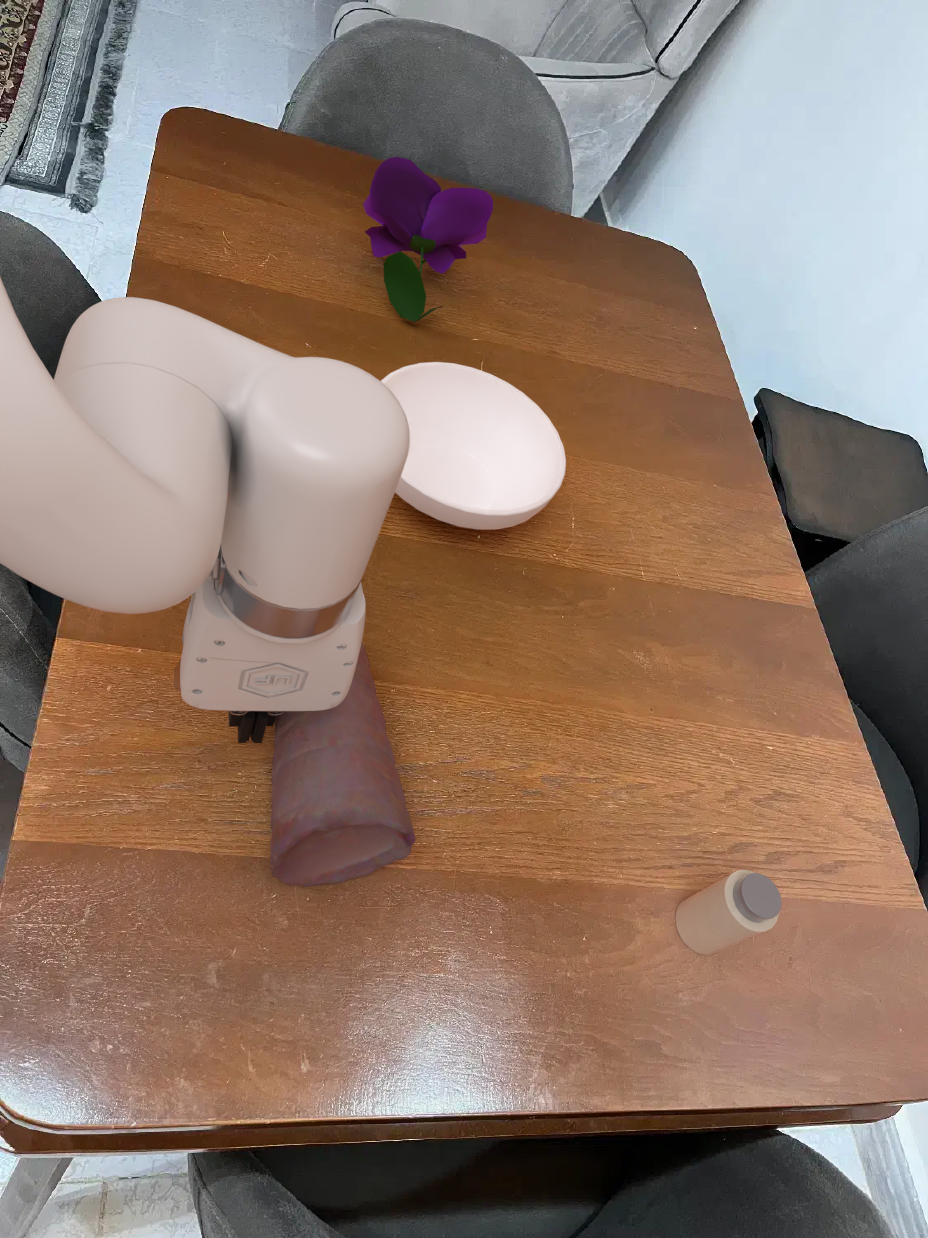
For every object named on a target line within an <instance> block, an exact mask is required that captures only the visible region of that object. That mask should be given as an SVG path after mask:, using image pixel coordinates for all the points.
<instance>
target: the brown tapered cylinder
mask: <svg viewBox="0 0 928 1238" xmlns="http://www.w3.org/2000/svg"><path fill="white" fill-rule="evenodd" d="M370 668H371V667H370V661H369V657H368V654H367V651H366V648H365V644H364V641H362V642H361V648H360V652H359V656H358V661H357V665H356V668H355V672H354V676H353V680H352V683H351V686H350V689H349V691H348V693H347V695H346V697H345V699H344V700H343V701H342V702H341V703H340V704H339V705H338V706H336V707H334V708H331V709H326V710H319V711H285V713H284V714H282V715H277V716H276V719H275V722H274V725H273V730H274V732H273V733H274V736H273V749H274V750H273V755H272V772H271V786H272V788H271V800H270V801H271V806H270V807H271V810H270V831H271V837H270V863H269V867H270V872H271V875H272V877H273V878H275V879H277V880H279V881H281V882H282V883H284V884H286V885H287V886H289V887H291V886H293V887H294V886H298V887H304V888H305V887H313V886H319V885H325V884H341V883H344V882H345V881H347V880H348V881H349V880H351V879H357V878H361V877H367V876H369V875H370V874H371V873H373V872H374V871H376V870H378V869H381V868H384V867H387V866H389V865H391V864H393V863H395V862H396V861H401V860H404V859H407V858H408V856H409V855H410V854H411V851H412V847H413V845H414V844H415V843H416V840H417V838H416V835H415V831H414V827H413V824H412V819H411V817H410V814H409V810H408V807H407V806H406V805H407V801H406V795H405V792H404V789H403V785H402V782H401V779H400V774H399V772H398V769H397V768H396V756H395V753H394V750H393V746H392V744H391V741H390V738H389V735H388V732H387V723H386V717H385V715H384V710H383V708H382V705H381V702H380V699H379V698H378V694H377V686H376V682H375V680H374V677H373V675H372V673H371V671H370Z"/></svg>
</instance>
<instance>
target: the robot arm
mask: <svg viewBox="0 0 928 1238" xmlns="http://www.w3.org/2000/svg"><path fill="white" fill-rule="evenodd" d="M59 356H60V357H59V360H58V363H57V367H56V371H55V374H54V377H52V375H51V374H50V372H49V371H48V369H47V368H46V366H45V364H44V362H43V361H42V360H41V358H40V357H39V355H38V353H37V351H36V350H35V349H34V347H33V345H32V343H31V341H30V339H29V337H28V335H27V333H26V331H25V329H24V327H23V325H22V323H21V322H20V320H19V318H18V316H17V314H16V312H15V309H14V307H13V304H12V301H11V299H10V297H9V295H8V293H7V289H6V287H5V285H4V283H3V280H2V277H1V276H0V565H2V566H3V567H5V568H7V569H9V570H10V571H12V572H13V573H15V574H16V575H18V576H19V577H21V578H23V579H25V580H27V581H28V582H30V583H32V584H33V585H35V586H37V587H39V588H41V589H42V590H45V591H47V592H49V593H51V594H53V595H55V596H57V597H60V599H61V598H62V599H64V600H66V601H68V602H72V603H74V604H78V605H80V606H83V607H86V608H89V609H93V610H97V611H102V612H106V613H115V614H123V615H139V614H149V613H150V614H151V613H155V612H159V611H164V610H166V609H169V608H171V607H174V606H175V605H178V604H180V603H182V602H183V601H185V600H187V599H188V598H189V597H191V598H190V601H189V604H188V608H187V613H186V616H185V619H184V625H183V629H182V635H181V643H182V651H181V657H180V659H179V660H178V662H177V663H176V665H175V667H174V668H173V669H174V670H173V688H175V689H177V690H180V694H181V699H182V701H183V702H184V703H186V704H187V705H188V706H189V707H193V708H196V709H201V710H207V711H227V712H228V727H230V728H231V727H233V728H234V727H235V728H236V727H237V743H238V744H246V743H247V742H253V744H262V743H263V739H264V736H265V732H266V729H267V728H268V727H271V728H272V727H273V728H274V722H275V719H276V716H277V715H282V714H284V713H285V711H319V710H326V709H331V708H334V707H336V706H338V705H339V704H340V703H341V702H342V701H343V700H344V699H345V697H346V695H347V693H348V691H349V689H350V686H351V683H352V680H353V676H354V672H355V668H356V665H357V661H358V656H359V652H360V648H361V642H363V637H364V631H365V625H366V624H365V623H366V612H367V611H366V609H367V608H366V606H367V605H366V598H365V594H364V591H363V590H364V589H363V584H362V579H363V576H364V575H365V572H366V569H367V567H368V564H369V561H370V558H371V555H372V553H373V550H374V549H375V548H374V547H375V546H376V543H377V540H378V537H379V534H380V532H381V530H382V527H383V524H384V522H385V519H386V517H387V514H388V512H389V509H390V506H391V503H392V500H393V498H394V495H395V494H396V493H395V490H396V488H397V485H398V483H399V480H400V477H401V475H402V472H403V470H404V466H405V463H406V460H407V456H408V453H409V447H410V431H409V425H408V421H407V418H406V415H405V413H404V411H403V409H402V407H401V405H400V403H399V401H398V399H397V398H396V397H395V395H394V394H393V393H392V392H391V390H390V389H389V388H387V387H386V386H385V385H384V384H383V383H382V382H381V380H380V379H378V378H377V377H375V375H373V374H371V373H369V372H367V371H366V370H364V369H362V368H361V367H358V366H356V365H354V364H351V363H348V362H345V361H343V360H339V359H333V358H328V357H323V356H321V357H320V356H302V357H301V356H300V357H297V356H291V355H289V354H286V353H285V352H282V351H279V350H277V349H274V348H272V347H269V346H266V345H264V344H262V343H260V342H257V341H255V340H253V339H250V338H249V337H247V336H244V335H242V334H240V333H237V332H235V331H233V330H231V329H229V328H227V327H224V326H222V325H220V324H218V323H215V322H213V321H211V320H210V319H207V318H204V317H202V316H200V315H197V314H195V313H193V312H191V311H187V310H185V309H183V308H180V307H178V306H175V305H172V304H168V303H165V302H161V301H158V300H154V299H149V298H141V297H134V296H123V297H122V296H119V297H114V298H108V299H104V300H101V301H99V302H96V303H95V304H92V306H90V307H88V308H87V309H86V310H84V311H83V312H82V313H81V314H80V315H79V316H78V317H77V318H76V320H75V321H74V323H72V326H71V327H70V329H69V332H68V334H67V336H66V338H65V341H64V344H63V347H62V349H61V353H60V355H59Z"/></svg>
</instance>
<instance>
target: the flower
mask: <svg viewBox="0 0 928 1238" xmlns="http://www.w3.org/2000/svg"><path fill="white" fill-rule="evenodd" d="M362 206H363V209H364V213H365V214H366V215H367V216H369V217H370V218H371V219H373V220H374V221H376V222H377V223H378V224H380V225H378V226H371V227H369V228H368V229H366V230H364V233H365V234H366V235H367V236H368V237H369V240H370V245H371V250H372V255H373V258H374V257H376V258H384V257H386V258H385V261H384V262H383V282H384V285H385V289H386V292H387V296H388V299H389V303H390V304H391V306H392V307H393V308H394V310H395V311H396V313H397V314H398V316H399V317H400V318H401V319H405V320H408V321H409V322H413V323H414V324H417V322H419V321H421V320H422V319H424V318H425V317H426V316H428V315H430V314H431V313H432V312H435V310H437V309H441V308H443V306H442V305H441V306H437V307H433V308H431V309H428V310H427V311H426V312H425V307H426V301H427V293H426V289H425V285H424V281H423V278H422V270H423V266H424V264H425V263H427V265H428V266H429V268H431V269H432V270H433V271H435V272H437V273H440V274H441V275H443V274H445V273H446V272H447V271H448V270H449V269H450V268H451V266H452V265H453V264H454V262H455V261H456V260H463V259H467V251H466V250H465V249H464V248H463V246H466V245H467V246H468V245H476V244H479V243H482V241H483V240H485V239H486V238H487V231H488V223H489V221H490V218H491V216H492V213H493V210H494V200H493V197H492V196H491V194H489V193H488V191H485V190H483V189H479V188H476V187H449V188H447V189H444V190H442V187H441V185H439V183H438V182H437V181H436V179H434V178H433V177H430V176H429V175H428V174H426V173H425V172H423V170H421V168H419V166H417V164H416V163H415V162H413V161H412V160H411V159H409V158H405V157H400V156H394V157H389V158H386V159H385V160H383V162H381V163H380V164H379V166H378V167H377V169H376V170H375V172H374V175H373V178H372V181H371V184H370V188H369V195H367V197H366V199H365V200H364V202H363V203H362ZM404 252H413V253H415V254H417V255H419V256H420V266H419V267H418V266H417V264H416V262H415V261H414V259H413V258H412V257H410V256H409V255H407V254H406V253H404Z"/></svg>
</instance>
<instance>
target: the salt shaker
mask: <svg viewBox="0 0 928 1238" xmlns="http://www.w3.org/2000/svg"><path fill="white" fill-rule="evenodd" d="M782 902H783V901H782V896H781V892H780V890H779V889H778V886H777V885H776V884H775V882H773V880H772V879H770V878H769V877H768V876H767V875H764V874H762V873H760V872H759V873H758V872H755V871H752V870H749V869H739V870H735V871H733V872H732V873H730V874H728V875H726V876H724V877H723V878H721V879H719V880H717V881H715V882H714V883H712V884H710V885H708V886H707V887H704V889H701V890H699V891H697V892H695V893H694V894H692V895H689V897H687V898H684V900H682V901H681V902H680V903H679V904H678V906H677V908H676V912H675V919H674V920H675V926H676V931H677V933H678V935H679V937H680V939H681V940H682V941H683V943H684V944H685V945H686V946H687V947H688V949H690V950H691V951H693V952H695V953H696V954H699V955H702V956H713V955H715V954H718V953H720V952H722V951H724V950H727V949H730V948H731V947H733V946H737V945H738V944H740V943H743V942H744V941H745V942H746V941H747V940H749V939H752V938H754V937H756V936H759V935H761V934H764V933H766V932H769V931H770V930H771V929H773V927H775V925H776V923H777V922H778V919H779V916H780V915H779V914H780V911H781V909H782Z"/></svg>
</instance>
